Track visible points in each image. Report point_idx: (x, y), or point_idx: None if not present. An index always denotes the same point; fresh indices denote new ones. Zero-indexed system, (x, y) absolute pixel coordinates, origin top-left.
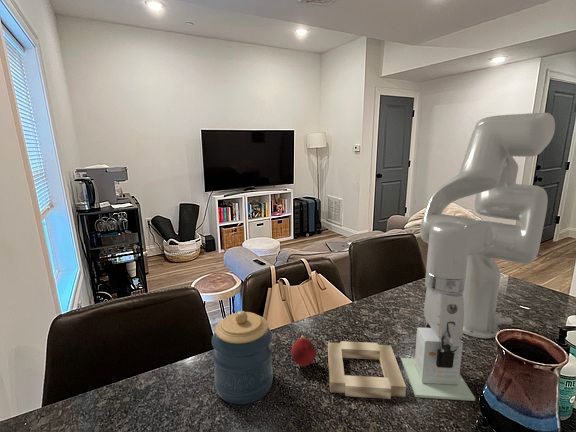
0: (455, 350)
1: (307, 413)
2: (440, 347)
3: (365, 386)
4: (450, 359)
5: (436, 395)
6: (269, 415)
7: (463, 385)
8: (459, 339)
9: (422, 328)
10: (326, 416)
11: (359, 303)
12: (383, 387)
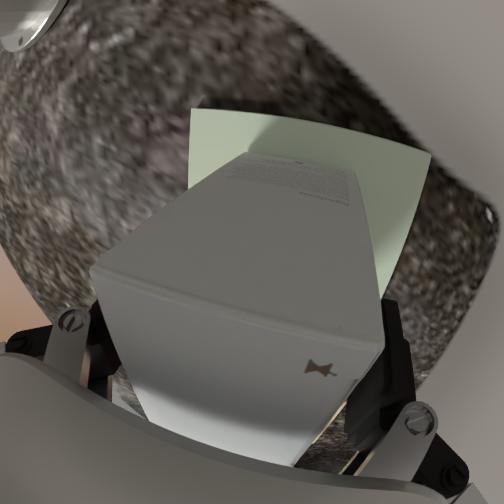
0: (463, 469)
1: (337, 452)
2: (361, 455)
3: (324, 428)
4: (410, 373)
5: (385, 286)
6: (327, 467)
7: (358, 148)
8: (436, 496)
9: (157, 424)
10: (350, 442)
11: (13, 263)
12: (338, 411)
